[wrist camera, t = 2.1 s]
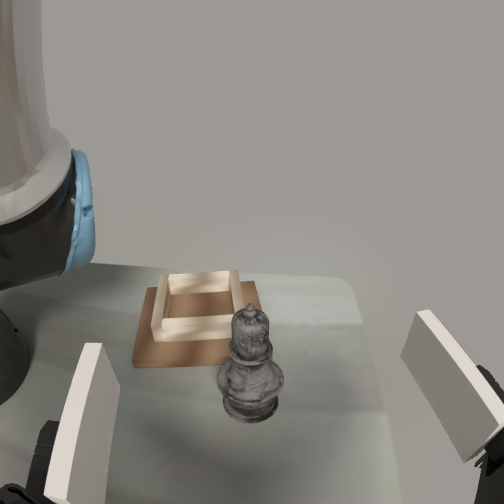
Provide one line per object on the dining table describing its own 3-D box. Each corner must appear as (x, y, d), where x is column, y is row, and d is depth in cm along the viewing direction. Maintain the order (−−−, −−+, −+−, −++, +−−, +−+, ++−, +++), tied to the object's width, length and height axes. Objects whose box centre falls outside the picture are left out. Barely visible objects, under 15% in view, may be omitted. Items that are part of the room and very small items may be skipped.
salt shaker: (253, 436, 25) (253, 343, 19) (207, 401, 28) (191, 304, 23) (293, 398, 29) (307, 300, 23) (248, 369, 32) (247, 272, 27)
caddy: (134, 367, 32) (126, 344, 30) (149, 294, 44) (144, 273, 42) (271, 359, 33) (273, 335, 32) (253, 287, 46) (254, 266, 44)
